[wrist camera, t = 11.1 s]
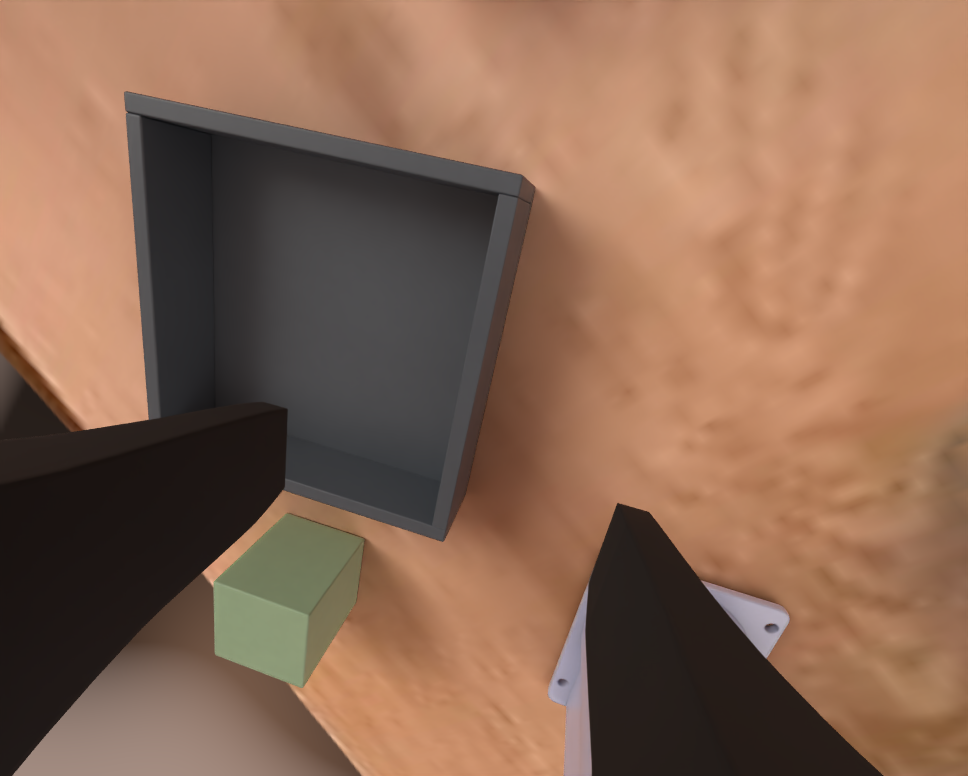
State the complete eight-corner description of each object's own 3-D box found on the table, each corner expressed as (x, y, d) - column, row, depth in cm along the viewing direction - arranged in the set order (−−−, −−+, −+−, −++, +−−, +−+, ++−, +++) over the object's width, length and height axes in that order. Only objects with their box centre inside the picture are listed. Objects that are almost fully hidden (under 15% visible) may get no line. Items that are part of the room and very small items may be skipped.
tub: (465, 495, 21) (443, 543, 17) (211, 417, 22) (149, 447, 19) (536, 186, 16) (523, 175, 13) (206, 116, 17) (122, 90, 14)
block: (356, 602, 24) (302, 689, 20) (283, 576, 25) (214, 655, 20) (365, 538, 23) (309, 616, 18) (286, 512, 23) (212, 581, 19)
